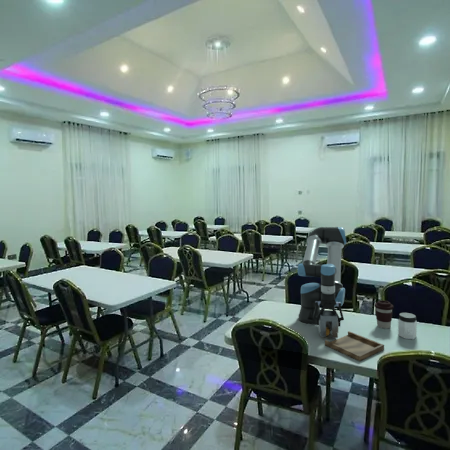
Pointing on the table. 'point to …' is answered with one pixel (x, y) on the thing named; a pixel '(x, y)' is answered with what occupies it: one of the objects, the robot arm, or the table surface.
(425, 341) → the table surface
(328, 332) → the ball
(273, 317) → the table surface
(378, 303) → the coffee cup
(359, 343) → the tray
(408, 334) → the jar
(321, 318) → the grey piece
